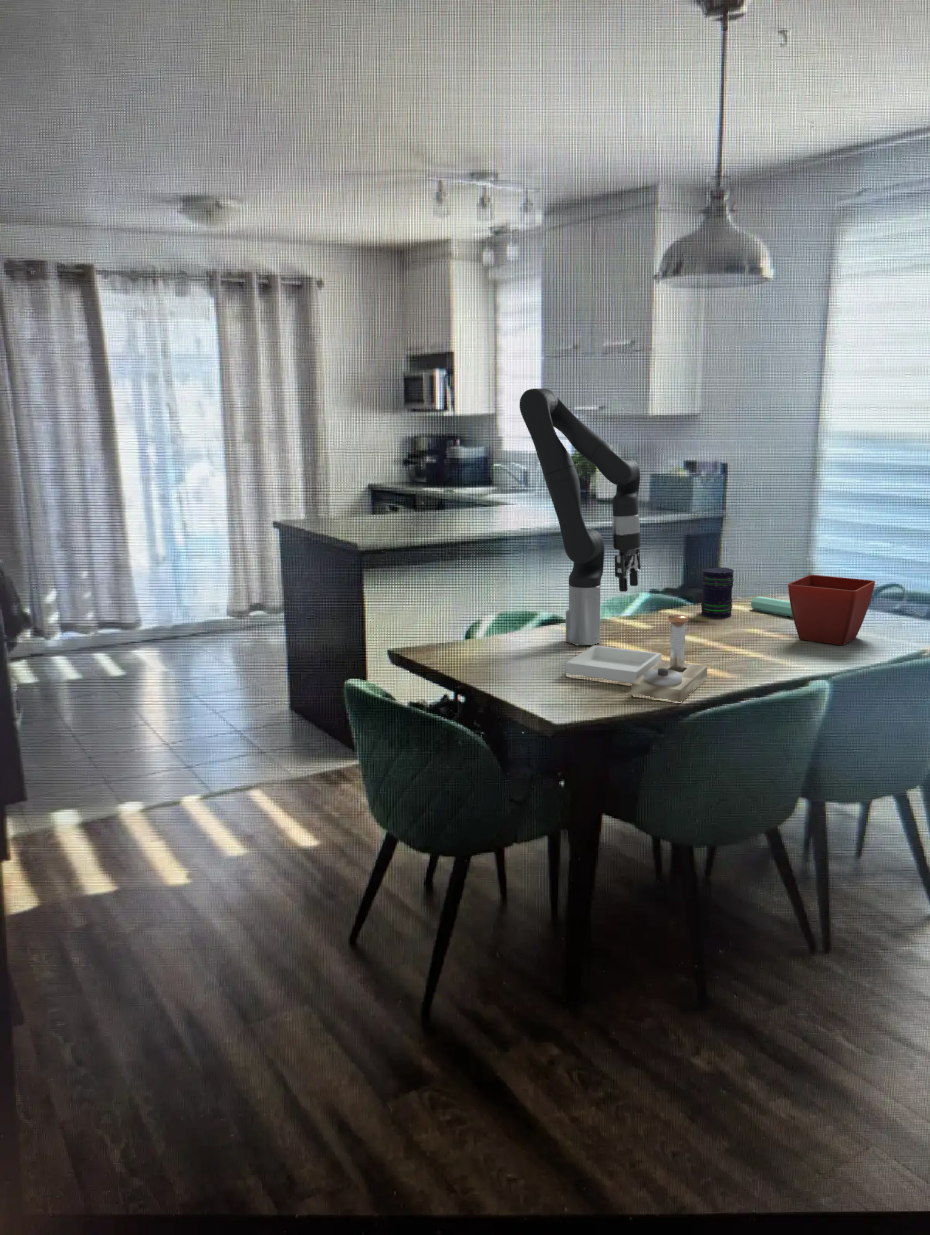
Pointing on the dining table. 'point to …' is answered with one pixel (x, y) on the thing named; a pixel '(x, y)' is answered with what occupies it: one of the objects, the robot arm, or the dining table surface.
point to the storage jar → (717, 592)
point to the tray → (612, 663)
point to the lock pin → (677, 641)
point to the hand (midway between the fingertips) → (628, 588)
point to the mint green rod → (772, 606)
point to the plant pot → (829, 607)
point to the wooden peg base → (669, 681)
